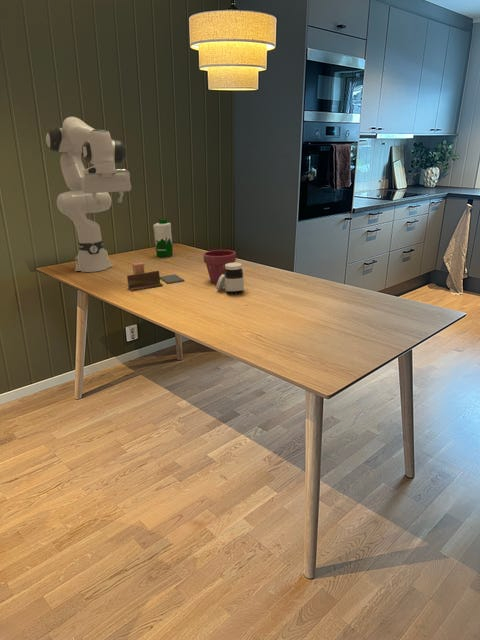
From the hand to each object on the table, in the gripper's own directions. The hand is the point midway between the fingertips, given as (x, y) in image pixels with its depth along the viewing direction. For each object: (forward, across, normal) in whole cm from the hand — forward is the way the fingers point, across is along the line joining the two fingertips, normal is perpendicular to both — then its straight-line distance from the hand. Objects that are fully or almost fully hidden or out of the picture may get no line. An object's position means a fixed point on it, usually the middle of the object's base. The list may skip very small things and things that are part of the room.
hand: (109, 203), depth 203 cm
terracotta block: (+36, -9, +3) cm, 37 cm away
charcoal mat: (+36, -23, +6) cm, 43 cm away
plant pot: (+37, -41, +20) cm, 59 cm away
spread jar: (+39, -37, +37) cm, 65 cm away
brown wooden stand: (+37, -9, +11) cm, 39 cm away
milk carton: (+30, -36, -43) cm, 64 cm away
